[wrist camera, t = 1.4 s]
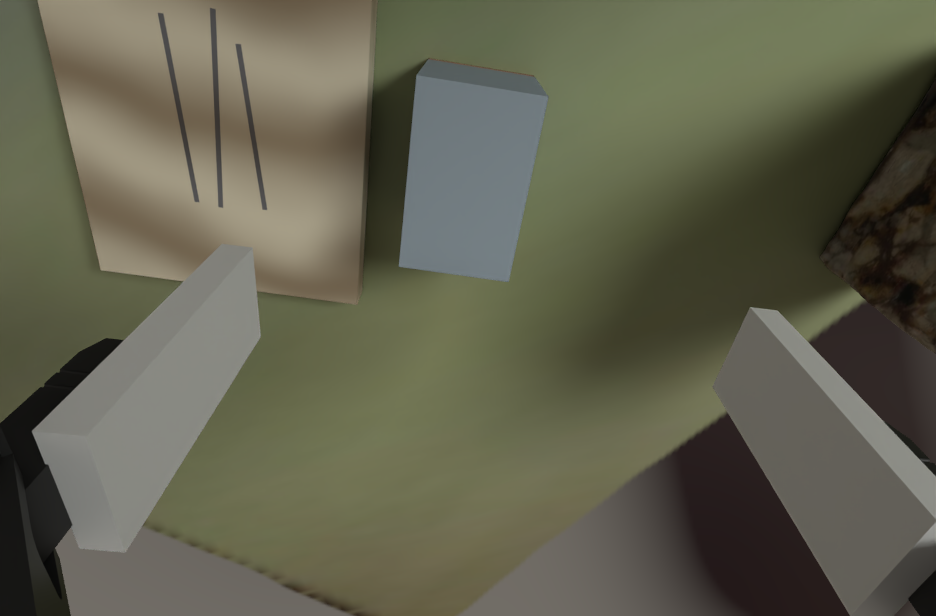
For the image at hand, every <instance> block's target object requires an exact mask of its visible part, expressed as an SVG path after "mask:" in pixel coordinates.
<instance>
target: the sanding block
mask: <svg viewBox="0 0 936 616" xmlns="http://www.w3.org/2000/svg"><path fill="white" fill-rule="evenodd" d="M547 101H548V95H547V94H546V92H545V91H544V90H543V88H542V87H541V85H540V84H539V82H538V81H537V80H536V78H535V77H534V76H532V75H526V74H520V73H514V72H508V71H502V70H496V69H490V68H484V67H478V66H472V65H466V64H460V63H454V62H448V61H442V60H436V59H430V58H429V59H428V60H427V61H426V63H425V64H424V65H423V67H422V68H421V70H420V71H419V72H418V74H417V75H416V85H415V96H414V107H413V118H412V129H411V140H410V150H409V161H408V172H407V183H406V194H405V205H404V216H403V227H402V238H401V248H400V259H399V267H405V268H412V269H419V270H426V271H433V272H440V273H447V274H455V275H462V276H469V277H476V278H483V279H490V280H498V281H505V282H509V278H510V273H511V268H512V264H513V259H514V254H515V250H516V245H517V241H518V236H519V231H520V227H521V222H522V217H523V213H524V208H525V203H526V199H527V194H528V190H529V185H530V180H531V176H532V171H533V166H534V162H535V157H536V152H537V148H538V143H539V139H540V134H541V129H542V125H543V120H544V115H545V111H546V106H547Z"/></svg>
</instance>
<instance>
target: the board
mask: <svg viewBox="0 0 936 616" xmlns="http://www.w3.org/2000/svg"><path fill="white" fill-rule="evenodd" d="M37 1H38V5H39V9H40V14H41V18H42V22H43V26H44V31H45V35H46V39H47V43H48V48H49V52H50V56H51V60H52V65H53V69H54V73H55V77H56V82H57V86H58V90H59V94H60V99H61V103H62V107H63V111H64V116H65V120H66V124H67V128H68V133H69V137H70V141H71V145H72V150H73V154H74V158H75V162H76V167H77V171H78V175H79V179H80V184H81V188H82V192H83V196H84V201H85V205H86V209H87V213H88V218H89V222H90V226H91V230H92V235H93V239H94V243H95V247H96V252H97V256H98V260H99V264H100V269H101V270H103V271H111V272H118V273H126V274H133V275H140V276H148V277H155V278H163V279H170V280H178V281H185V280H186V279H187V278H188V277H189V276H190V275H191V274H192V273H193V272H194V271H195V270H196V269H197V268H198V267H199V266H200V265H201V264H202V263H203V262H204V261H205V260H206V259H207V258H208V257H209V256H210V255H211V254H212V253H213V252H214V251H215V250H216V249H217V248H218V247H219V246H220V245H221V244H228V245H236V246H245V247H253V257H254V268H255V279H256V290H257V291H259V292H267V293H274V294H282V295H289V296H297V297H304V298H311V299H319V300H326V301H334V302H341V303H349V304H356V305H357V304H358V301H359V299H360V296H361V293H362V286H363V267H364V248H365V229H366V210H367V192H368V173H369V154H370V135H371V116H372V98H373V79H374V60H375V41H376V22H377V4H378V0H37Z"/></svg>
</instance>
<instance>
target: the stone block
mask: <svg viewBox="0 0 936 616" xmlns="http://www.w3.org/2000/svg"><path fill="white" fill-rule="evenodd" d="M820 259H821V260H822V261H823V262H824V264H825V265H826V267H827V268H828V269H829V270H831V271H832V272H833V273H835V274H836V275H837V276H839V277H840V278H841V279H843V280H844V281H845V282H846V283H848V284H849V285H850V286H851V287H852V288H853V289H854V290H856V291H857V292H858V293H859V294H860V295H861V296H862V297H863V298H864V299H866V301H867V302H868V303H870V304H871V305H872V306H873V307H875V308H876V309H878V310H879V311H880V312H881V313H882V314H883V315H885V316H886V317H887V318H888V319H889V320H890V321H892V322H893V323H894V324H896V325H897V326H898V327H899V328H900V329H902V330H903V331H905V332H906V333H907V334H909V335H910V336H911V337H913V338H914V339H916V340H917V341H919V342H920V343H921V344H922V345H923V346H925V347H926V348H927V349H929V350H931V351H932V352H934V353H936V79H935V81H934V82H933V84H932V86H931V87H930V89H929V91H928V92H927V94H926V96H925V97H924V99H923V101H922V102H921V104H920V106H919V107H918V109H917V110H916V112H915V113H914V115H913V116H912V118H911V119H910V121H909V122H908V124H907V125H906V127H905V128H904V130H903V131H902V133H901V134H900V135H899V137H898V138H897V140H896V141H895V143H894V144H893V146H892V147H891V149H890V150H889V152H888V153H887V155H886V156H885V158H884V159H883V161H882V162H881V164H880V165H879V167H878V168H877V170H876V171H875V173H874V174H873V176H872V177H871V179H870V181H869V182H868V184H867V186H866V187H865V189H864V191H863V192H862V193H861V194H860V195H859V196H858V198H857V199H856V200H855V202H854V203H853V205H852V206H851V208H850V210H849V211H848V213H847V215H846V217H845V219H844V221H843V223H842V225H841V226H840V228H839V230H838V231H837V233H836V234H835V236H834V237H833V238H832V240H831V241H830V242H829V243H828V245H827V247H826V249H825V250H824V252H823V253H822V255H821V256H820Z"/></svg>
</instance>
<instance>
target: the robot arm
mask: <svg viewBox="0 0 936 616" xmlns="http://www.w3.org/2000/svg"><path fill="white" fill-rule="evenodd" d="M260 337H261V334H260V323H259V312H258V301H257V290H256V279H255V268H254V257H253V247H245V246H236V245H228V244H221V245H220V246H219V247H218V248H217V249H216V250H215V251H214V252H213V253H212V254H211V255H210V256H209V257H208V258H207V259H206V260H205V261H204V262H203V263H202V264H201V265H200V266H199V267H198V268H197V269H196V270H195V271H194V272H193V273H192V274H191V275H190V276H189V277H188V278H187V279H186V280H185V281H184V282H183V283H182V284H181V285H180V286H179V287H178V288H177V289H176V290H175V291H174V292H173V293H172V294H170V295H169V296H168V297H167V298H166V299H165V300H164V301H163V302H162V303H161V304H160V305H159V306H158V307H157V308H156V309H155V310H154V311H153V312H152V313H151V314H150V315H149V316H148V317H147V318H146V319H145V320H144V321H143V322H142V323H141V324H140V325H139V326H138V327H137V328H136V329H135V330H134V331H133V332H132V333H131V334H130V335H129V336H128V337H127V338H126V339H125V340H118V339H108V338H106V339H104V340H102V341H100V342H98V343H96V344H94V345H92V346H90V347H88V348H86V349H84V350H82V351H80V352H79V353H78V354H77V355H75V356H74V357H73V358H72V359H71V360H70V361H69V362H68V363H67V364H65V365H64V366H63V367H62V368H61V369H60V373H55V374H54V375H53V376H52V377H51V378H50V379H49V380H48V381H47V382H46V383H45V385H44V387H40V388H39V389H38V390H37V391H36V392H34V393H33V394H32V395H31V396H30V397H29V398H28V399H27V400H26V401H24V402H23V403H22V404H21V405H20V406H19V407H18V408H17V409H16V410H15V411H13V412H12V413H11V414H10V415H9V416H8V417H7V418H6V419H5V420H3V421H2V422H1V423H0V616H71V615H70V609H69V604H68V599H67V594H66V589H65V584H64V579H63V574H62V569H61V563H60V559H59V556H58V554H57V552H56V549H55V547H56V546H57V545H58V543H59V542H60V540H61V539H62V538H63V537H64V535H65V534H66V533H67V531H68V530H69V529H70V528H71V529H72V531H73V534H74V536H75V539H76V541H77V544H78V546H79V548H80V549H90V550H101V551H113V552H126V551H127V549H128V548H129V546H130V544H131V543H132V541H133V540H134V538H135V536H136V535H137V533H138V532H139V530H140V529H141V527H142V525H143V524H144V522H145V521H146V519H147V517H148V516H149V514H150V513H151V511H152V509H153V508H154V506H155V505H156V503H157V501H158V500H159V498H160V497H161V495H162V493H163V492H164V490H165V489H166V487H167V486H168V484H169V482H170V481H171V479H172V478H173V476H174V474H175V473H176V471H177V470H178V468H179V466H180V465H181V463H182V462H183V460H184V458H185V457H186V455H187V454H188V452H189V450H190V449H191V447H192V446H193V444H194V442H195V441H196V439H197V438H198V436H199V434H200V433H201V431H202V430H203V428H204V426H205V425H206V423H207V422H208V420H209V419H210V417H211V415H212V414H213V412H214V411H215V409H216V407H217V406H218V404H219V403H220V401H221V399H222V398H223V396H224V395H225V393H226V391H227V390H228V388H229V387H230V385H231V383H232V382H233V380H234V379H235V377H236V375H237V374H238V372H239V371H240V369H241V367H242V366H243V364H244V363H245V361H246V359H247V358H248V356H249V355H250V353H251V352H252V350H253V348H254V347H255V345H256V344H257V342H258V340H259V339H260ZM713 389H714V390H715V392H716V394H717V395H718V397H719V399H720V400H721V402H722V404H723V405H724V407H725V408H726V410H727V412H728V413H729V415H730V417H731V418H732V420H733V422H734V423H735V425H736V427H737V428H738V430H739V432H740V433H741V435H742V437H743V438H744V440H745V442H746V443H747V445H748V447H749V448H750V450H751V451H752V453H753V455H754V457H755V458H756V460H757V461H758V463H759V464H760V466H761V468H762V470H763V471H764V473H765V475H766V476H767V478H768V480H769V482H770V483H771V485H772V487H773V488H774V490H775V492H776V493H777V495H778V497H779V498H780V500H781V501H782V503H783V505H784V506H785V508H786V510H787V511H788V513H789V515H790V516H791V518H792V520H793V521H794V523H795V525H796V526H797V528H798V530H799V531H800V533H801V535H802V536H803V538H804V540H805V541H806V543H807V545H808V546H809V548H810V550H811V551H812V553H813V555H814V556H815V558H816V560H817V561H818V563H819V565H820V566H821V568H822V569H823V571H824V573H825V575H826V576H827V578H828V580H829V581H830V583H831V585H832V586H833V588H834V589H835V591H836V593H837V594H838V596H839V598H840V599H841V601H842V603H843V604H844V606H845V608H846V609H847V611H848V613H849V614H850V616H894V615H895V613H896V612H898V610H899V609H900V608H901V607H902V606H903V605H904V604H905V603H906V602H907V601H908V600H909V601H910V603H912V605H913V607H914V608H915V610H916V611H917V612H918V614H919V615H920V616H936V465H935V464H934V463H930V462H929V458H928V457H927V456H926V455H925V454H924V453H923V452H922V451H921V450H920V449H919V448H918V447H917V446H916V445H915V444H914V443H913V442H912V441H911V440H910V439H909V438H908V437H906V436H905V435H903V434H902V433H900V432H899V431H897V430H896V429H895V428H893V427H892V426H891V425H889V424H888V423H886V422H883V421H882V420H881V419H880V417H879V416H877V414H876V413H875V412H874V411H873V410H872V409H871V408H870V407H869V406H868V405H867V404H866V403H865V402H864V401H863V400H862V399H861V398H860V396H859V395H858V394H857V393H856V392H855V391H854V390H853V389H852V388H851V387H850V386H849V385H848V384H847V383H846V382H845V381H844V380H843V379H842V378H841V377H840V376H839V374H838V373H837V372H836V371H835V370H834V369H833V368H832V367H831V366H830V365H829V364H828V363H827V362H826V361H825V360H824V359H823V358H822V357H821V356H820V354H819V353H818V352H817V351H816V350H815V349H814V348H813V347H812V346H811V345H810V344H809V343H808V342H807V341H806V340H805V339H804V338H803V337H802V336H801V335H800V333H799V332H798V331H797V330H796V329H795V328H794V327H793V326H792V325H791V324H790V323H789V322H788V321H787V320H786V319H785V318H784V317H783V316H782V315H781V314H780V313H779V311H778V310H770V309H762V308H753V307H750V308H749V310H748V313H747V315H746V317H745V319H744V321H743V323H742V325H741V327H740V329H739V332H738V334H737V336H736V338H735V340H734V342H733V344H732V346H731V349H730V351H729V353H728V355H727V357H726V359H725V361H724V363H723V366H722V368H721V370H720V372H719V374H718V376H717V378H716V380H715V382H714V385H713Z"/></svg>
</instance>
